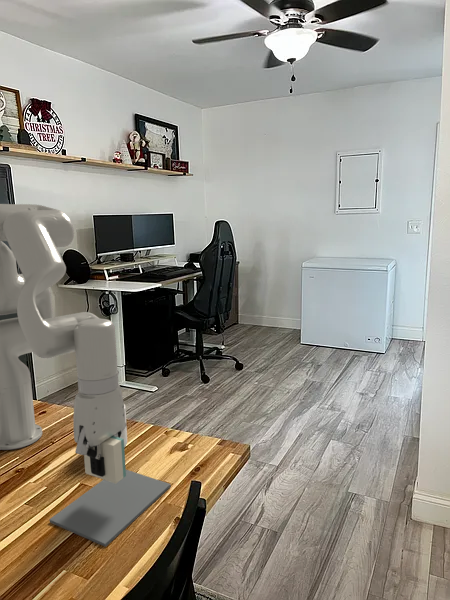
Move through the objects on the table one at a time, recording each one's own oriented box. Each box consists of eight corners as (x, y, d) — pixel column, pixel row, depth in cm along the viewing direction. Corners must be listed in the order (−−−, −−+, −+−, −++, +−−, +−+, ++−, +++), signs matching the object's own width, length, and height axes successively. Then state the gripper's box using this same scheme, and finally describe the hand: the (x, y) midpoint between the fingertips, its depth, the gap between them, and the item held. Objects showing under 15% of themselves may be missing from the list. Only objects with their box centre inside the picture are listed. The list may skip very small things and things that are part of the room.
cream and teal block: (85, 473, 92) (82, 436, 91) (96, 466, 95) (93, 430, 93) (115, 483, 88) (113, 445, 87) (126, 475, 91) (123, 438, 90)
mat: (49, 522, 87) (49, 519, 87) (120, 469, 104) (119, 467, 104) (105, 546, 80) (105, 543, 80) (170, 486, 97) (170, 484, 97)
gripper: (112, 367, 97) (117, 447, 100) (50, 394, 83) (59, 486, 86) (140, 372, 93) (145, 455, 97) (81, 402, 79) (89, 497, 83)
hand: (104, 468), depth 91 cm, fingers closed on cream and teal block, 3 cm apart
